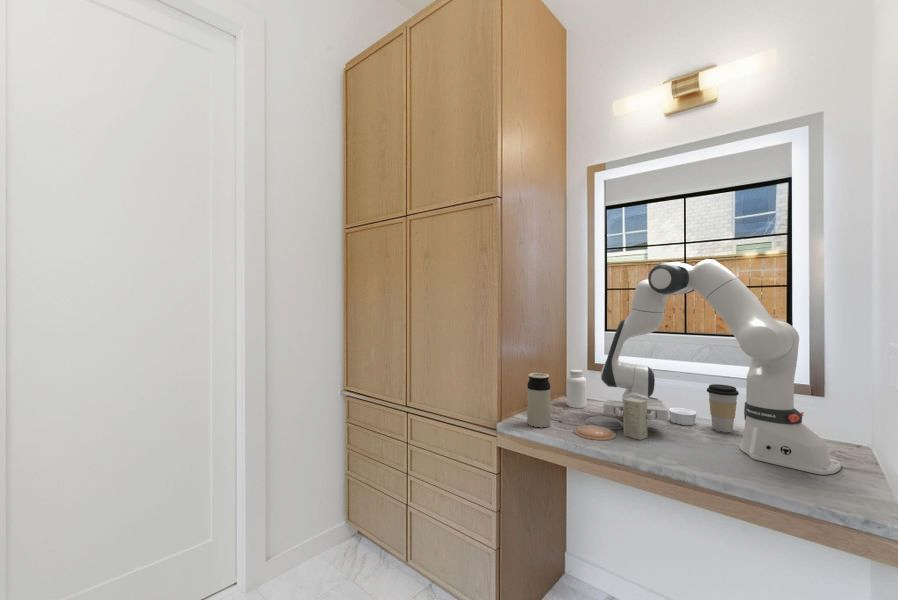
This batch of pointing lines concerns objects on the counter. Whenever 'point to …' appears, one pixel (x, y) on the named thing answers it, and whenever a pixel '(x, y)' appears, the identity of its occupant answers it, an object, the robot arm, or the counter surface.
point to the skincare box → (635, 418)
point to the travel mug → (538, 400)
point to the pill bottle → (576, 389)
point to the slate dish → (605, 422)
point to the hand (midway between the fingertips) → (635, 415)
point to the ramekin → (682, 416)
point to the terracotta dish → (594, 432)
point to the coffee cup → (722, 406)
